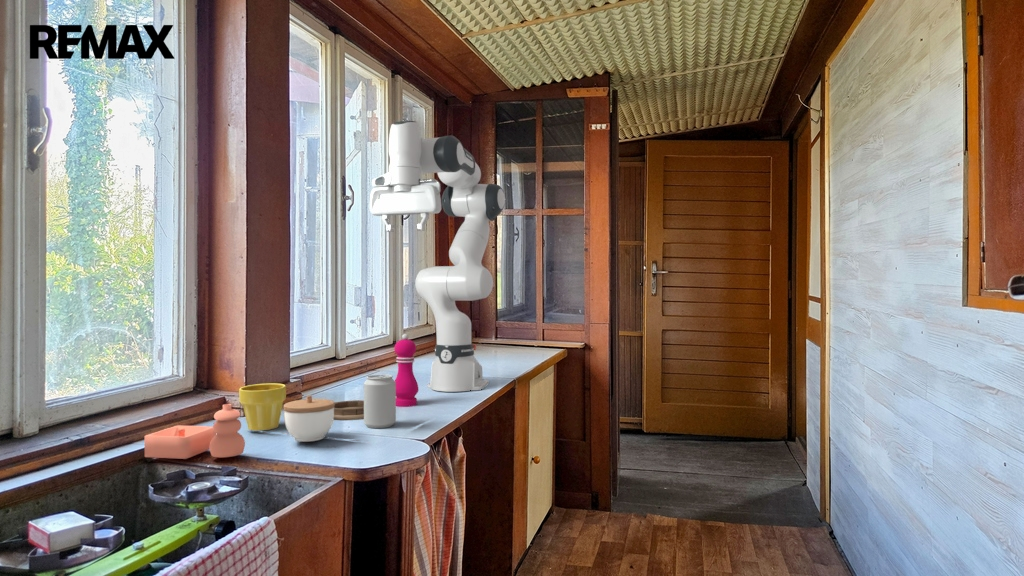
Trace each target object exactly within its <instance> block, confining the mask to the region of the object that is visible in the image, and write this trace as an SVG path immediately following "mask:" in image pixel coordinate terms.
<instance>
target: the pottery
mask: <svg viewBox="0 0 1024 576" xmlns="http://www.w3.org/2000/svg"><path fill="white" fill-rule="evenodd" d="M240 416H241V412H240V411H239V410H237V409H236V408H232V404H231V403H226V404H222V409H221V410H220V409H219V410H218V411H216V412H215V413H214V415H213V418H214V420H215V422H214V423H213V426H210V425H209V426H208V425H207V426H206V425H204V426H203V425H202V426H201V425H174V426H172V427H168V428H165V429H161V430H159V431H156V432H152V433H149V434H146V435H144V458H158V459H159V458H160V459H180V460H181V459H183V460H187V459H189V458H192V457H194V456H197V455H199V454H201V453H204V452H207V451H209V452H210V456H211V457H214V458H230V457H236V456H239V455H241V454H243V453H244V451H245V445H246V441H245V439H244V437H243V435H242V434H241V433H240V432H239V431H240V430H241V428H242V422H241V420H240V419H239V418H240Z"/></svg>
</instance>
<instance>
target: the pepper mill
mask: <svg viewBox="0 0 1024 576" xmlns="http://www.w3.org/2000/svg"><path fill="white" fill-rule="evenodd" d="M401 338H402V339H399V340H398V341H397V342H396V343H395V344H394V353H395V354H396V356H397V357H396V358H395V359H396V361H395V362H396V363H397V366H398V367H397V374H396V377H395V379H394V381H395V382H396V408H397V407H398V408H407V407H409V408H410V407H413V406H416V405H418V403H417V402H418V401H417V400H418V399H417V397H416V395H417V394H418V392H419V384H418V382H417V379H416V377H415V375H414V369H413V367H414V366H413V364H414V362H415V356H414V355H415V353H416V351H417V346H416V343H415V342H414V341H413V340H411V339H409V334H407V333H404V334H402V336H401Z"/></svg>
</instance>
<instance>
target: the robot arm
mask: <svg viewBox="0 0 1024 576" xmlns="http://www.w3.org/2000/svg"><path fill="white" fill-rule="evenodd" d="M388 156H389V165H388V172H386V173H384V174H381V175H379V176H377V177H375V178H373V179H372V180H371V186H372V187H373V189H372V190H371V191H370V196H369V212H370V214H371V215H372V216H376V217H381V220H382V221H383V223H384V225H385V231H386V233H393V232H394V231H395V229H394V228H395V226H394V225H392V224H391V222H390V220H391V216H404V215H405V216H409V215H420V218H421V220H420V223H417V224H416V226H417V228H416V229H417V231H418V232H425V230H426V225H427V222H428V220H429V219H430V215H431V214H439V213H440V212H441V211H442V209H443V212H444V213H445V214H446V215H447V216H448V217H453V218H458V217H463V218H464V221H463V222H462V223H461V225H460V227H459V228H458V230H457V232H456V234H455V236H454V238H453V240H452V243H451V245H450V247H449V250H448V257H449V261H450V262H451V263H452V264H453V265H449V266H448V265H447V266H446V265H443V266H441V265H440V266H439V265H438V266H437V265H435V266H430V267H427V268H422V269H420V270H419V271H418V273H417V274H416V278H415V281H414V285H415V286H414V287H415V290H416V292H417V294H418V296H419V297H420V298H422V299H423V300H424V301H425V302H426V303H427V304H428V306H429V308H430V310H431V311H432V313H433V317H434V319H435V329H436V332H435V334H436V343H435V346H434V347H435V348H434V354H435V358H434V359H433V361H432V362H431V369H430V371H431V372H430V383H426V384H427V385H426V388H429V389H431V390H432V391H438V392H446V393H447V392H450V393H453V392H470V390H471V391H482V390H483V389H485V388H486V387H487V386H488V385H489V384H490V383H489V382H490V380H488V379H483V378H484V377H483V366H482V364H480V362H479V361H478V360H477V358H476V357H475V351H476V349H477V344H476V343H472V321H471V319H470V317H469V316H468V315H467V314H466V313H464V312H462V311H460V310H459V308H458V307H457V305H456V301H458V302H459V301H460V302H461V301H463V302H464V301H467V302H468V301H471V302H473V301H477V300H482V299H486V298H488V297H489V296H490V294H491V293H492V291H493V288H494V278H493V276H492V274H491V272H490V270H488V268H486V267H485V266H484V265H483V264H482V260H483V257H484V254H485V251H486V249H487V245H488V242H489V238H490V230H491V228H490V224H489V222H493V221H496V219H497V217H499V215H500V214H502V212H503V210H504V208H505V204H506V197H505V196H506V195H505V191H504V190H503V188H502V186H501V185H499V184H495V183H489V184H488V183H479V182H480V180H481V177H482V171H481V168H480V167H479V165H478V164H477V162H476V160H475V157H474V155H473V154H472V153H471V152H470V151H468V150H467V149H466V148H465V147H464V146H463V143H462V142H461V141H460V139H458V138H457V137H456V136H454V135H452V134H451V135H444V136H440V137H432V138H423V137H422V135H421V128H420V123H419V122H417V121H416V120H402V121H401V120H400V121H395V122H393V123H392V124H391V125H390V129H389V135H388ZM423 174H437V177H438V178H439V180H440V181H441V182H442V183H443V184H445V185H446V186H447V187H445V189H444V190H443V193H442V196H441V194H440V193H441V183H440V181H439V180H437V179H436V178H423V177H422V175H423ZM488 383H489V384H488ZM487 384H488V385H487ZM486 385H487V386H486ZM485 386H486V387H485ZM484 387H485V388H484ZM481 389H482V390H481Z"/></svg>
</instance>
